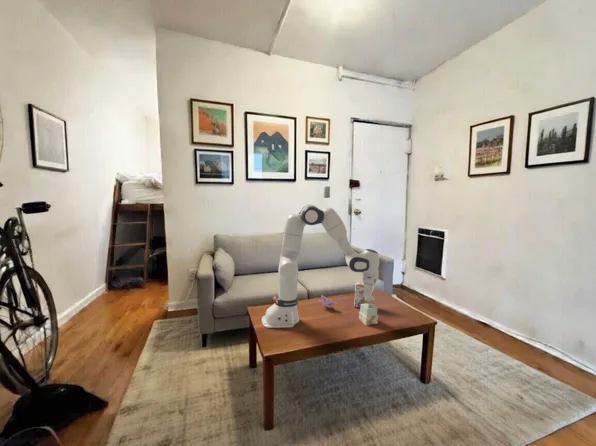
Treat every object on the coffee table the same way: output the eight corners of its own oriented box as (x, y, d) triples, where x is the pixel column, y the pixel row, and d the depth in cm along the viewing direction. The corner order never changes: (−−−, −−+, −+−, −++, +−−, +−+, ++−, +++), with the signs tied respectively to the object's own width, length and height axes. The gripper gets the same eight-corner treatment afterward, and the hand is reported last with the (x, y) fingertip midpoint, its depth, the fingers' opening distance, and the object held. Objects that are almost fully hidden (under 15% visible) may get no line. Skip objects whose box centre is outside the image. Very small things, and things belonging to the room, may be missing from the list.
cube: (373, 304, 158) (373, 296, 157) (364, 303, 160) (364, 295, 159) (374, 301, 162) (374, 293, 162) (365, 300, 164) (366, 292, 164)
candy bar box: (354, 308, 181) (355, 284, 179) (354, 304, 186) (355, 281, 184) (371, 309, 180) (373, 285, 178) (370, 305, 185) (371, 282, 183)
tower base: (365, 325, 157) (366, 317, 157) (358, 319, 165) (359, 311, 164) (377, 323, 160) (378, 315, 159) (370, 317, 167) (370, 310, 167)
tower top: (366, 317, 157) (367, 308, 157) (360, 312, 164) (360, 304, 163) (376, 315, 160) (377, 307, 159) (369, 310, 166) (370, 302, 166)
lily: (339, 313, 175) (340, 298, 178) (326, 310, 168) (327, 294, 172) (325, 312, 183) (327, 298, 187) (313, 309, 177) (314, 295, 181)
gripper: (367, 271, 170) (366, 292, 172) (362, 280, 151) (361, 304, 153) (378, 272, 168) (377, 294, 169) (373, 282, 149) (372, 306, 150)
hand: (369, 299), depth 161 cm, fingers closed on cube, 5 cm apart
